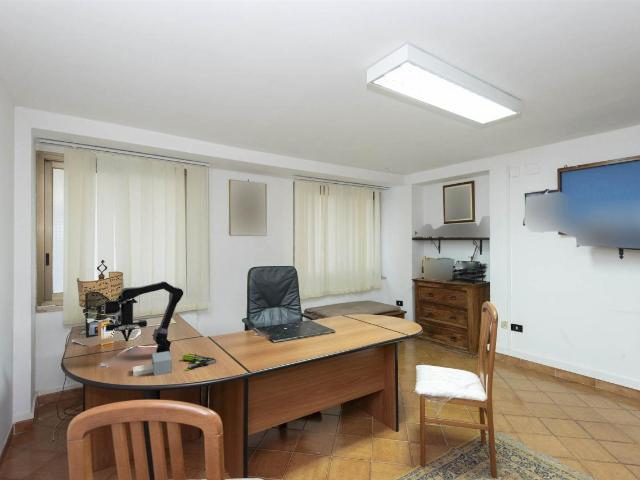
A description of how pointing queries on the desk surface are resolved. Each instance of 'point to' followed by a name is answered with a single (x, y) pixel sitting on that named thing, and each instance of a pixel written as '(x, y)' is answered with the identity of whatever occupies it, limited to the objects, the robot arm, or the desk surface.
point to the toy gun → (198, 361)
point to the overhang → (162, 363)
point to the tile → (143, 369)
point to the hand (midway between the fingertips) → (126, 341)
